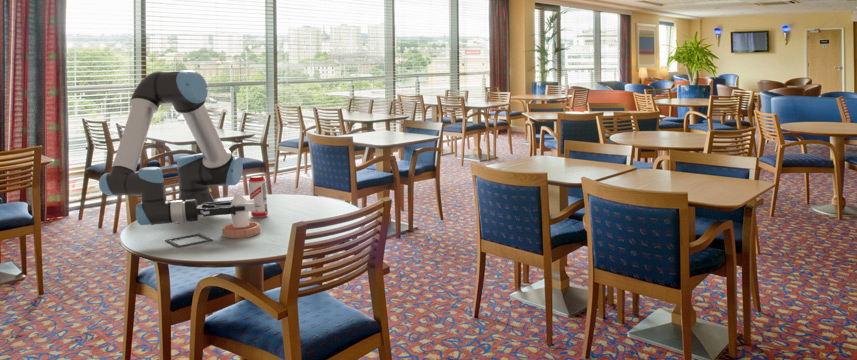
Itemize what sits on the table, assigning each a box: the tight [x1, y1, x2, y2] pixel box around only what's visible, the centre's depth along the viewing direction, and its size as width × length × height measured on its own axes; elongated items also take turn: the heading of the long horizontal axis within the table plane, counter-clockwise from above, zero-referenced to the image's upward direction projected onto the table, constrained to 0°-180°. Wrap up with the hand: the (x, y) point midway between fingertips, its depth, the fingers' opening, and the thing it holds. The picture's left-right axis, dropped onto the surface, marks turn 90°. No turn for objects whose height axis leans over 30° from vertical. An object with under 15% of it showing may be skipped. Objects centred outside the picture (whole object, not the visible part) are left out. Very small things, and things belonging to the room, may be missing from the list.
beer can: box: [248, 174, 269, 219], centre depth 261 cm, size 6×6×16 cm
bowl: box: [221, 221, 261, 239], centre depth 237 cm, size 13×13×3 cm
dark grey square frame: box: [164, 232, 214, 248], centre depth 230 cm, size 12×12×1 cm
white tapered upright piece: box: [230, 192, 250, 228], centre depth 235 cm, size 6×12×6 cm
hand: (254, 205), depth 236 cm, fingers closed on white tapered upright piece, 6 cm apart
